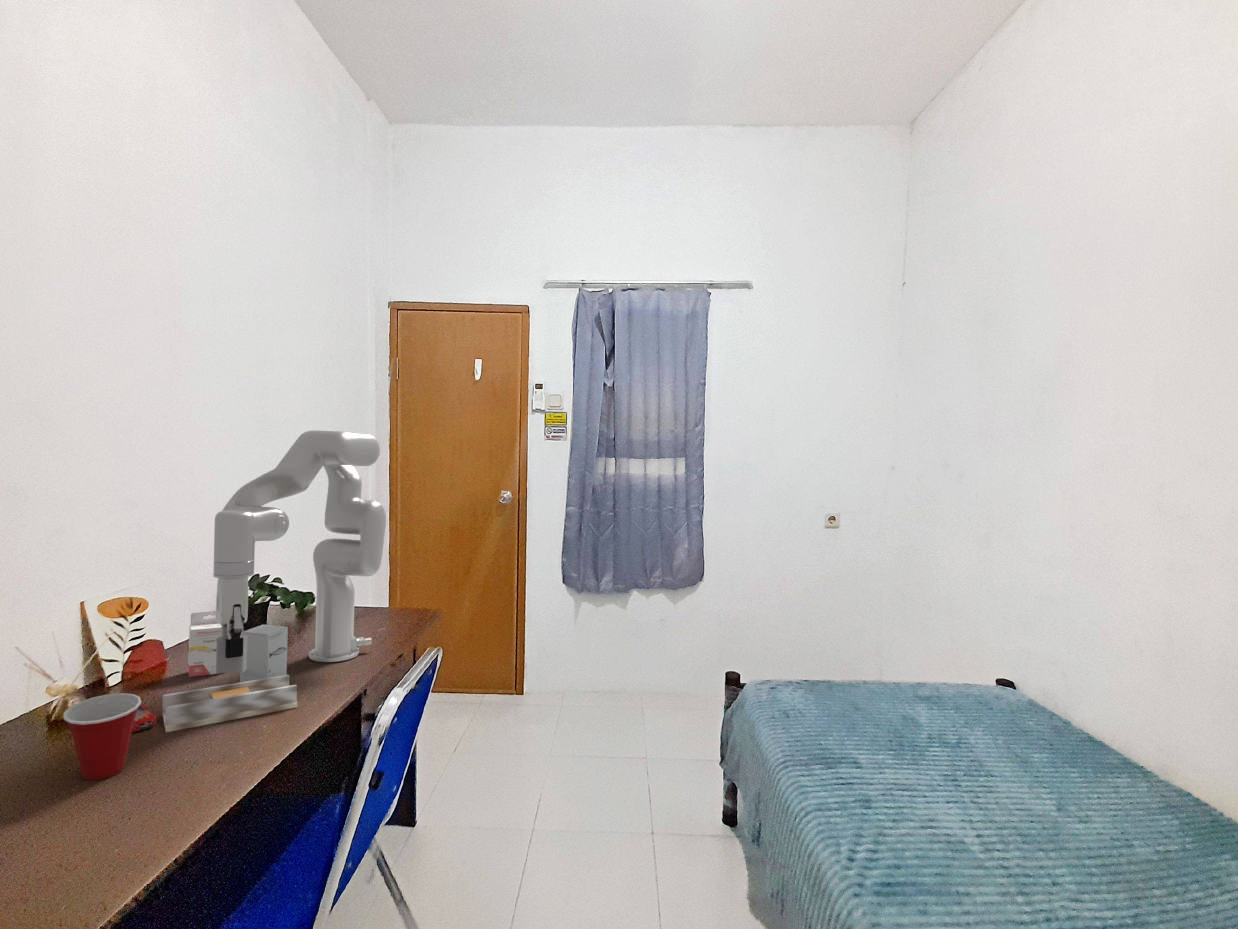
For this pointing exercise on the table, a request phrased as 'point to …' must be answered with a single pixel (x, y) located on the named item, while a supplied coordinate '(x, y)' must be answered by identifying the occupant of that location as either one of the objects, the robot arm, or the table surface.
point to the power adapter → (229, 663)
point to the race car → (143, 719)
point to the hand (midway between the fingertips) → (232, 652)
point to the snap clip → (230, 692)
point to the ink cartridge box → (203, 644)
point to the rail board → (227, 703)
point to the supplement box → (265, 652)
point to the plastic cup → (102, 732)
